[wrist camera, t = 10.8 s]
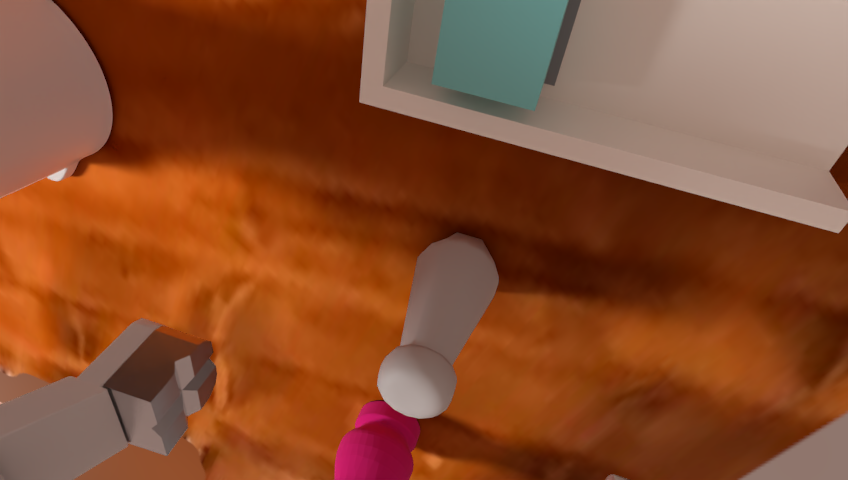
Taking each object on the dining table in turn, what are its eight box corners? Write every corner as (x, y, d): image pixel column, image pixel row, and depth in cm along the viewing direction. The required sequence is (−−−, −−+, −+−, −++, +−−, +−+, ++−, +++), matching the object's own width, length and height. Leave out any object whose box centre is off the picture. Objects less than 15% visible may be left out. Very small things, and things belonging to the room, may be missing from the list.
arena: (390, 71, 32) (359, 102, 28) (421, -210, 24) (383, -219, 20) (809, 181, 29) (838, 233, 25) (1008, -100, 21) (1096, -88, 17)
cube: (456, 52, 29) (431, 83, 25) (475, -50, 26) (450, -31, 22) (546, 74, 28) (534, 111, 25) (576, -27, 25) (568, -4, 22)
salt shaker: (410, 243, 39) (337, 380, 29) (468, 208, 36) (409, 348, 26) (460, 297, 41) (408, 444, 31) (520, 268, 38) (484, 421, 28)
